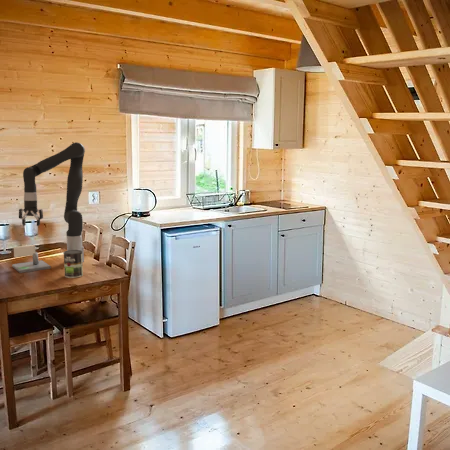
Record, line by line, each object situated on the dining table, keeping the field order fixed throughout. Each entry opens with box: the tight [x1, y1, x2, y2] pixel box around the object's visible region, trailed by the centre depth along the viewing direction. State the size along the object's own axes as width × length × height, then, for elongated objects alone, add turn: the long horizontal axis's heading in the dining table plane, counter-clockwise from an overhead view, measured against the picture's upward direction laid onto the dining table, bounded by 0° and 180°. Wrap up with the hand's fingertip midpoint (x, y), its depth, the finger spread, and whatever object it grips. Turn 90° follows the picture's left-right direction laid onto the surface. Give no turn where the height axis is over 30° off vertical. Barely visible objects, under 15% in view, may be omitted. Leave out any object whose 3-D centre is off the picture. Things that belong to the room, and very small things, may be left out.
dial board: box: [11, 259, 52, 274], centre depth 311 cm, size 18×18×2 cm
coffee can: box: [63, 250, 84, 279], centre depth 292 cm, size 10×10×14 cm
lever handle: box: [13, 244, 39, 264], centre depth 310 cm, size 14×3×12 cm, turn 125°
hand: (31, 225), depth 317 cm, fingers open, 8 cm apart
